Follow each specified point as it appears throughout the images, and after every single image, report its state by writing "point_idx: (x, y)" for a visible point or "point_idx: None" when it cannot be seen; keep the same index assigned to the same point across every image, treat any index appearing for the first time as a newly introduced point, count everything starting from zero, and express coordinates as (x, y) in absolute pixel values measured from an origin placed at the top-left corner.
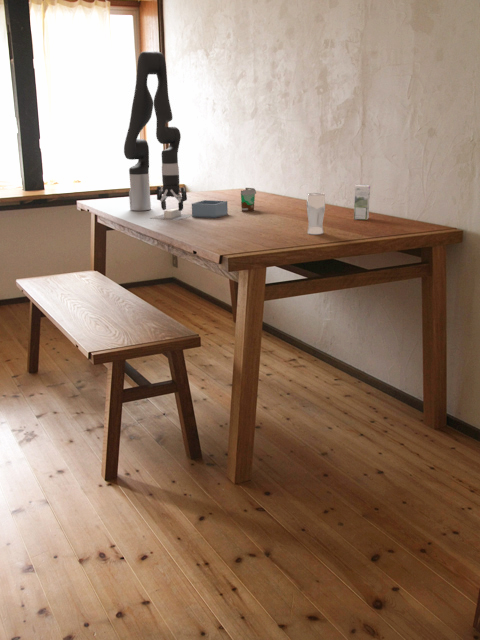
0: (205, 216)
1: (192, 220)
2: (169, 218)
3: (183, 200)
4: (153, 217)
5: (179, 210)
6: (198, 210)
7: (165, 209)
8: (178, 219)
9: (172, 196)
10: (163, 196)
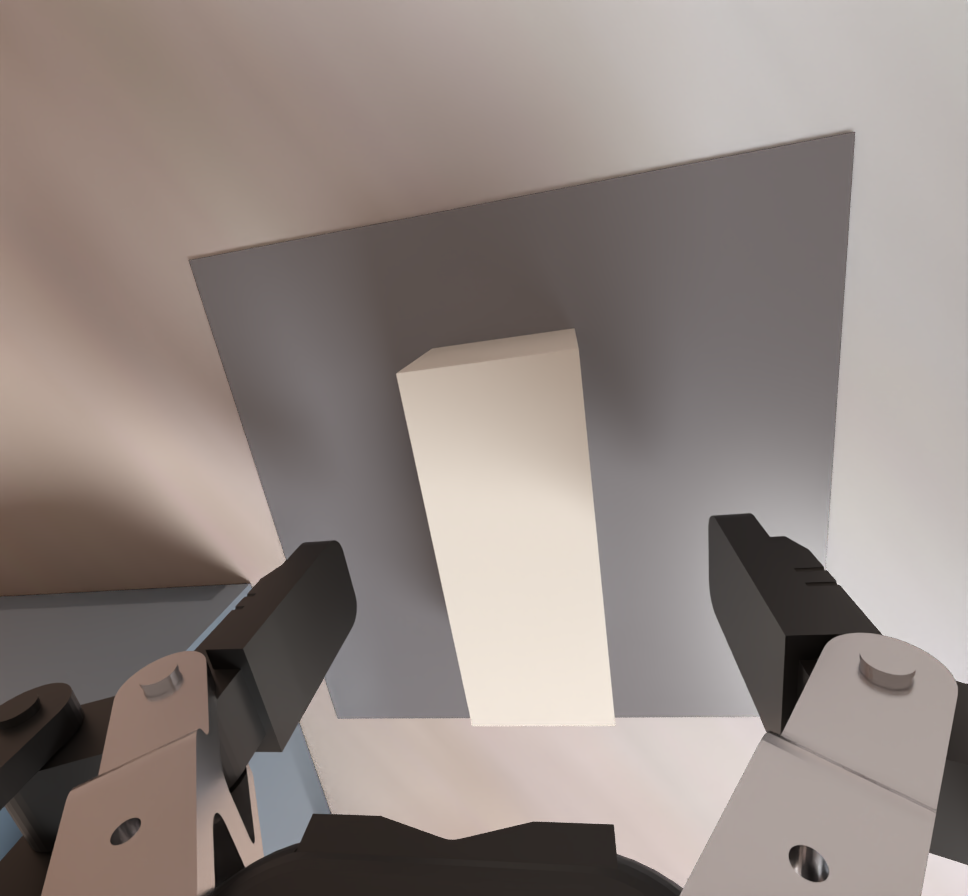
0: (55, 602)
1: (11, 338)
2: (441, 316)
3: (29, 699)
4: (827, 268)
5: (320, 541)
6: (74, 654)
7: (709, 575)
8: (233, 300)
9: (355, 834)
10: (824, 786)
